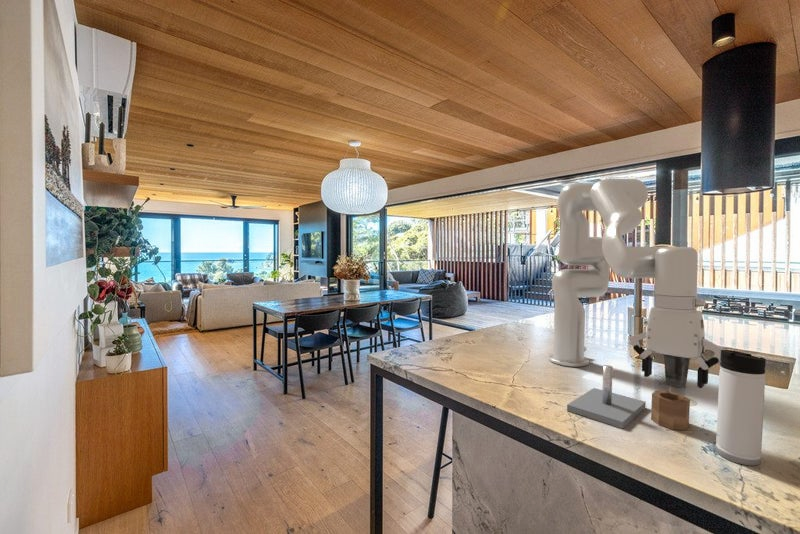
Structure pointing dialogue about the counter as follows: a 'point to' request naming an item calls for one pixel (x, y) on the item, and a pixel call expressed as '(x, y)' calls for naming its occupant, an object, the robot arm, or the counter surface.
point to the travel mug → (740, 407)
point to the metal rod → (607, 385)
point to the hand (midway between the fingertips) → (673, 380)
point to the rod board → (607, 408)
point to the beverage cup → (676, 370)
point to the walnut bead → (670, 410)
